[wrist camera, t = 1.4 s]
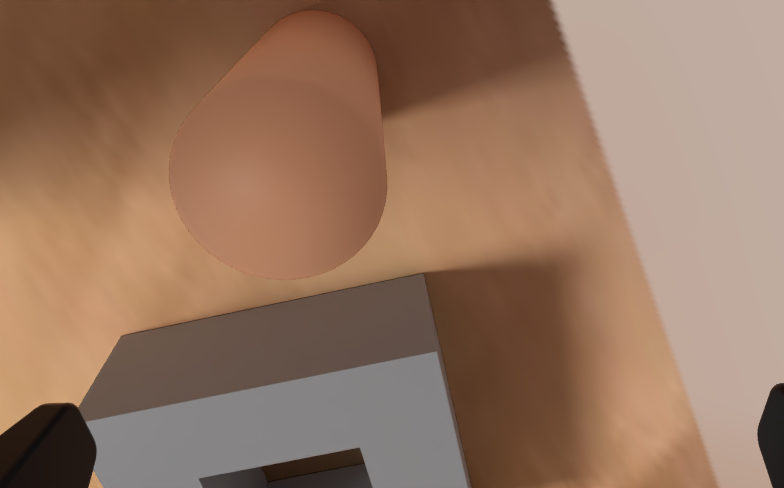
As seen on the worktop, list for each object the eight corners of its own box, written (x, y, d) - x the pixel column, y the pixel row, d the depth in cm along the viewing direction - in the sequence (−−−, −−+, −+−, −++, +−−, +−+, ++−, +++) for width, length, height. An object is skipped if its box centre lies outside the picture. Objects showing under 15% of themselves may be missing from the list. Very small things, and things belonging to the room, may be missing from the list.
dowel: (274, 146, 22) (211, 297, 13) (237, 26, 20) (134, 105, 11) (389, 120, 22) (406, 256, 13) (361, -4, 20) (358, 52, 11)
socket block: (222, 542, 30) (197, 650, 26) (121, 336, 25) (67, 425, 20) (473, 496, 29) (493, 598, 25) (423, 273, 24) (436, 351, 20)
